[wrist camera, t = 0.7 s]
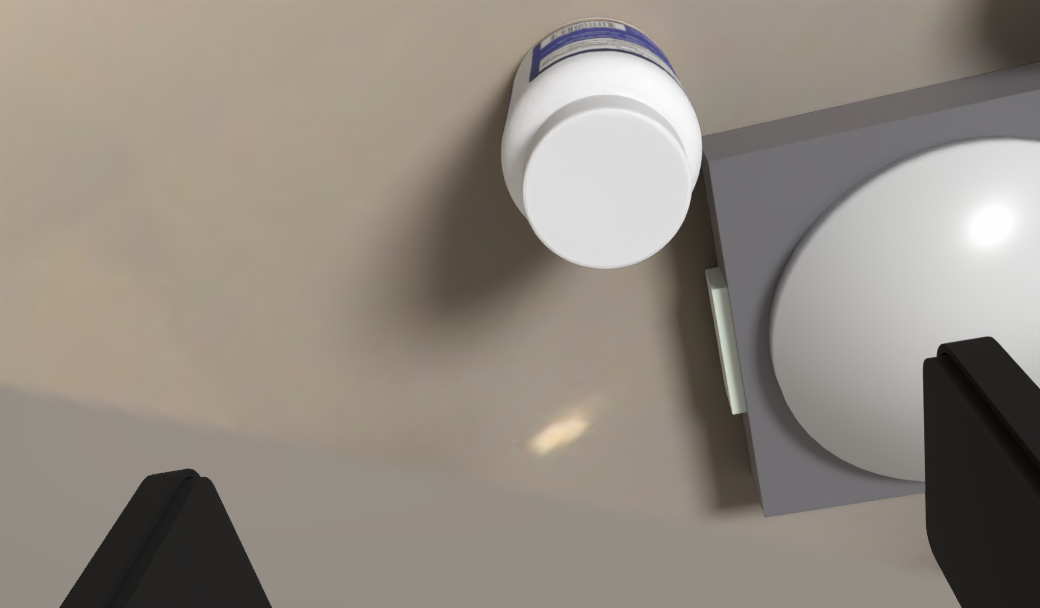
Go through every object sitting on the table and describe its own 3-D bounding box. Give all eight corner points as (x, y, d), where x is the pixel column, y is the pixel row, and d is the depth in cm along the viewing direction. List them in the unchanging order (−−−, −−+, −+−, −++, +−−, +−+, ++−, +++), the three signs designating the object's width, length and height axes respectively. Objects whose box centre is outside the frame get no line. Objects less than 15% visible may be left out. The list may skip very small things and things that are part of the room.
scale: (1160, 34, 27) (1234, 57, 24) (1133, 412, 33) (1189, 467, 30) (682, 141, 29) (695, 174, 26) (739, 477, 35) (755, 534, 32)
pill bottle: (625, 203, 30) (647, 330, 22) (485, 135, 29) (455, 242, 21) (708, 60, 28) (764, 144, 20) (558, -18, 27) (555, 38, 19)
